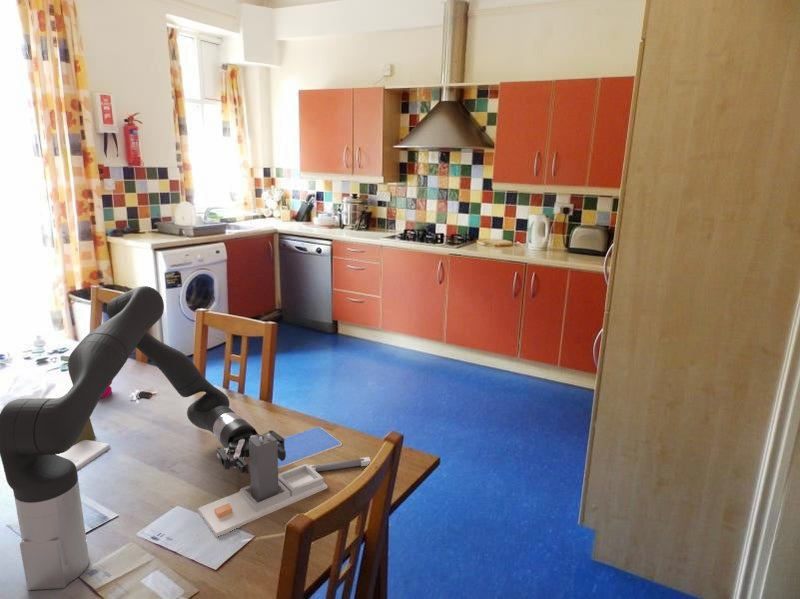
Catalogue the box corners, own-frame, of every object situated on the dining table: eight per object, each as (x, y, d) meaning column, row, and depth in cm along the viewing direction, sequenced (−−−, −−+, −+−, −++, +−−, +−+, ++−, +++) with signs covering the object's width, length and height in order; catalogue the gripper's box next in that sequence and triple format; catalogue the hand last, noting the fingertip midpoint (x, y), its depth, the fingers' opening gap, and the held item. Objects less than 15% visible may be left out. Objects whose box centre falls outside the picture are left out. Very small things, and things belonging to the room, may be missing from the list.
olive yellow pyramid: (63, 441, 136) (58, 403, 133) (86, 431, 141) (81, 394, 139) (78, 448, 134) (72, 408, 131) (100, 437, 139) (95, 399, 136)
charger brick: (278, 496, 116) (277, 434, 112) (259, 504, 113) (257, 441, 109) (270, 487, 118) (268, 427, 115) (251, 495, 116) (248, 433, 112)
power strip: (305, 469, 128) (304, 460, 127) (327, 489, 120) (327, 479, 120) (198, 511, 111) (197, 501, 110) (216, 537, 104) (216, 526, 103)
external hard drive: (110, 449, 134) (70, 476, 123) (83, 444, 136) (41, 470, 124) (109, 443, 134) (69, 470, 122) (83, 439, 136) (40, 464, 124)
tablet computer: (277, 472, 127) (276, 468, 127) (255, 450, 136) (254, 446, 136) (343, 448, 139) (343, 443, 139) (319, 429, 148) (319, 425, 148)
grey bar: (369, 461, 131) (369, 456, 131) (370, 465, 130) (370, 459, 129) (304, 470, 127) (304, 465, 126) (305, 475, 125) (305, 469, 125)
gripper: (203, 427, 119) (233, 458, 107) (261, 410, 128) (294, 437, 116) (205, 457, 121) (235, 490, 109) (262, 438, 130) (295, 467, 118)
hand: (265, 463), depth 113 cm, fingers open, 8 cm apart
